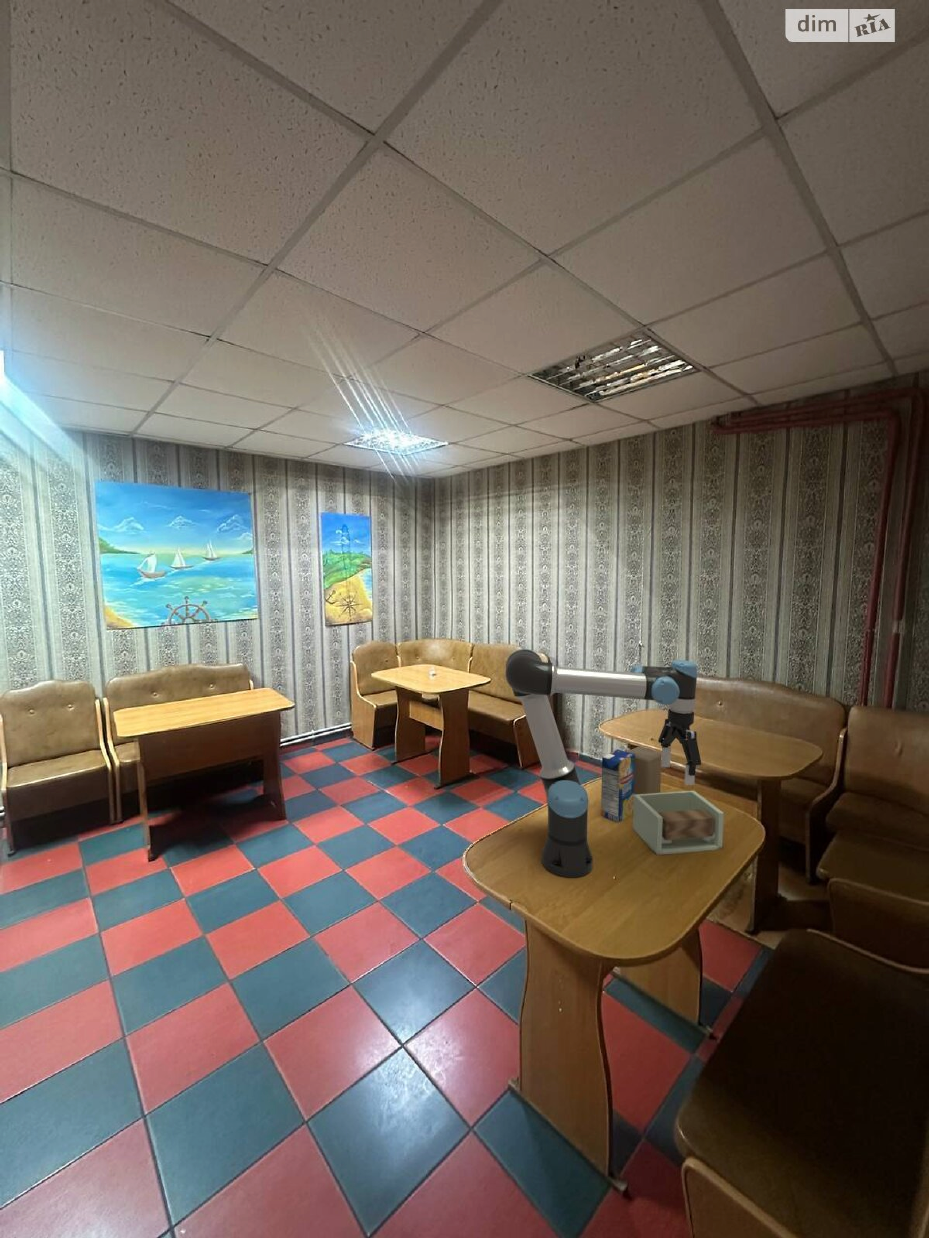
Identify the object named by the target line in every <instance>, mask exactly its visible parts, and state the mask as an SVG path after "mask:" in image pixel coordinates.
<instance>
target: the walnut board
mask: <svg viewBox="0 0 929 1238" xmlns="http://www.w3.org/2000/svg"><path fill="white" fill-rule="evenodd" d="M658 814H659V815H660V816H661V817H662V818H663V821H662V837H663V838H664V839H665V840H674V839H686V838H697V837H709V836H713V822H714V818H713V817H712V816H710V815H709V814H708V813H707V812H705V811H704V810H703V809H696V810H683V811H671V812H658Z"/></svg>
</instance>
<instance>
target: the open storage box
mask: <svg viewBox="0 0 929 1238" xmlns="http://www.w3.org/2000/svg"><path fill="white" fill-rule="evenodd" d="M696 809H703V810H704V811H705V812H707V813H708V814H709V815H710V816H712V817H713V818H714V822H713V836H709V837H697V838H686V839H674V840H665V839H664V838H663V837H662V821H663V818H662V817H661V816H660V815H659V814H658V812H671V811H683V810H696ZM724 814H725V812H723V811H722V810H720V809H719V808H718V807H716V806H715V805H714V804H713V803H712V802H710V801H709V800H707V799H706V798H705V797H703V796H702V795H701V794H699V793H698V792H696V791H695V790H682V791H669V792H668V791H667V792H660V793H651V794H637V795H634V803H633V813H632V829H633V831H634V832H635V833H636V834H637V835H639V837H640V838H641V839H642V840H643V841H644V843H645V844H647V846H648V847H649V848H650V849H651V850H652V851H653V852H654V853H655V855H656V856H657V855H659V856H660V855H667V854H669V855H671V854H682V853H693V852H704V851H717V849H718V850H723V839H724V838H723V837H724V836H723V835H724V820H725V819H724V818H725V817H724V816H725V815H724Z"/></svg>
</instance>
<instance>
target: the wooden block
mask: <svg viewBox="0 0 929 1238" xmlns="http://www.w3.org/2000/svg"><path fill="white" fill-rule="evenodd" d="M626 752H629V753H633V754H635V772H634V795H637V794H651V793H661V778H662V767H661V759H662V752H659V751H655V750H652V749H649V748H645V747H643V746H637V747H634V748H632V749H629V750H627V751H626Z"/></svg>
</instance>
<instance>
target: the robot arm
mask: <svg viewBox="0 0 929 1238" xmlns="http://www.w3.org/2000/svg"><path fill="white" fill-rule="evenodd" d="M505 680H506V682H507V685H508V686H509V687H510V688H511V689H512V692H513V696H514V698H517V699H519V700H520V702H521V704H522V705H521V706H522V708H523V712H524V715H525V717H526V721H527V724H528V728H529V730H530V733H531V736H532V739H533V742H534V746H535V749H536V753H537V755H538V758H539V761H540V764H541V769H540V771H539V776H540V778H541V782H542V786H543V788H544V791H545V792H544V793H545V796H546V797H545V798H546V804H547V837H546V840H545V843H544V846H543V848H542V851H541V863H542V865H543V867H544V868H545V869H546V870H547V871H549V872H550V873H552V874H554V875H557V876H560V877H563V878H570V879H571V878H573V879H574V878H581V877H584V876H586V875H589V873H590V872H591V871H592V869H593V867H594V866H593V865H594V863H593V855H592V852H591V848H590V845H589V842H588V814H589V813H588V811H589V809H588V807H589V797H588V795H589V794H588V792H587V790H586V788H585V787H584V786H583V785H582V782H581V779H580V777H579V776H578V774H577V773H578V772H577V770H576V767H575V764H574V762H573V761H571V760H569V759H568V757H567V753H566V751H565V747H564V744H563V741H562V738H561V735H560V732H559V729H558V726H557V723H556V719H555V716H554V713H553V709H552V708H551V703H550V701H549V697H548V696H550V697H551V696H552V695H554V694H556V693H558V694H568V695H569V694H571V695H580V696H581V695H584V696H593V697H594V696H595V697H607V698H620V699H621V698H622V699H634V700H635V699H636V700H643V701H644V700H645V701H654V702H656V703H658V704H660V705H665V706H668V710H667V718H664V723H663V727H662V730H661V732H660V734H659V738H658V740H657V741H658V744H660V746H661V755H662V756H661V768H670V767H671V755H672V748H671V746H672V744H673V742H674V741H675V740H677V741H678V742H679V744H681V746H682V750H683V752H684V755H685V759H686V763H685V769H684V770H685V772H684V785H685V786H694V785H695V779H696V771H697V770H696V769H697V766H702V759H701V755H700V754H701V753H700V750H699V745H698V744H699V743H698V740H697V739H698V737H697V735H698V734H697V731H692V730H690V729H691V725H693V724H694V723H695V712H694V711H695V708H696V706H695V703H696V690H697V683H698V682H697V681H698V666H697V664H696V663H695V662H694V661H690V660H683V659H677V660H676V659H675V660H672V661H671V663H670V666H653V665H652V666H649V665H648V666H646V665H635V666H632V667H631V669H630V672H629V671H615V670H602V669H589V668H579V667H563V666H557V665H556V664H555V663H554V662H545V661H542V658H541V657H540V655H539V654H538V653H537V652H535V651H534V650H532V649H529V648H520V649H518V650H515V651H514V652H512V653H510V655H509V656H508V658H507V660H506V662H505Z"/></svg>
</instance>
